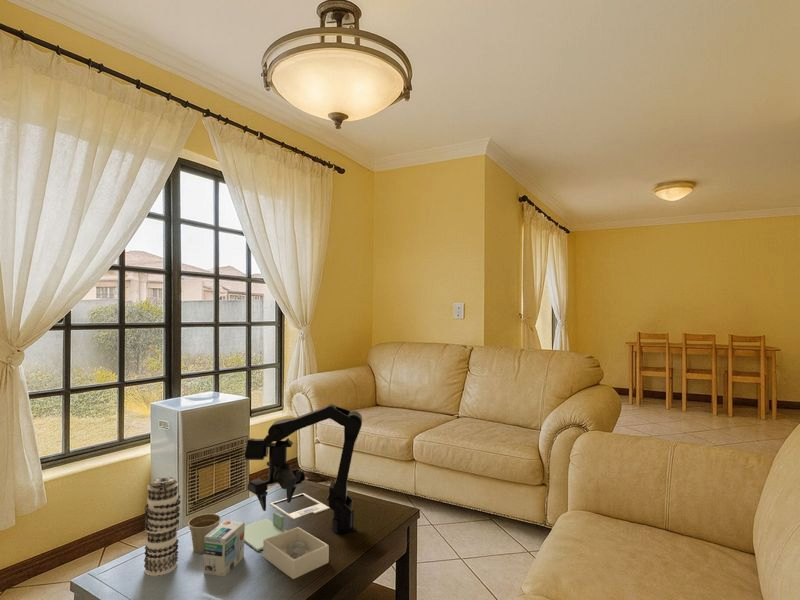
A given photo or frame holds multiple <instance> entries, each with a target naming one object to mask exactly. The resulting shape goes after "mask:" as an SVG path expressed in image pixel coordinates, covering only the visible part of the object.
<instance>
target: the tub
mask: <svg viewBox="0 0 800 600" xmlns="http://www.w3.org/2000/svg"><path fill="white" fill-rule="evenodd" d="M297 540H299V541H300V542H302V543H303V544H305V553H304V554H302V555H303V556H301V557H298V558H296V559H293V558H291V557H290V555H289V554H287V553H286V545H287V544H289V543H292V542H294V541H297ZM329 549H330V546H329V544H327V543H326V542H324V541H322V540H321V539H320V538H317V537H316V536H315V535H312V534H311V533H309V532H307V531H306V530H304V529H303V528H301V527H299V526H297V527H294V528H291V529H288V530H286V532H283V533H280V534H278V535H275V536H273V537H270V538H267V539H265V540H264V542H263V549H262V551H263V552H262V555H263V556H262V557H263V558H265V560H267V561H268V562H270V563H271V564H272V565H273V566H275V567H276V568H278V569H279V570H280V571H281V572H283V573H284V574H286V576H288V577H289V578H290V579H292V580H294V579H297V578H299V577H301V576H303V575H306V574H307V573H309V572H312V571H315V570H316V569H318V568H320V567H323V566H325V565H326V564H329V559H330V550H329Z"/></svg>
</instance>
